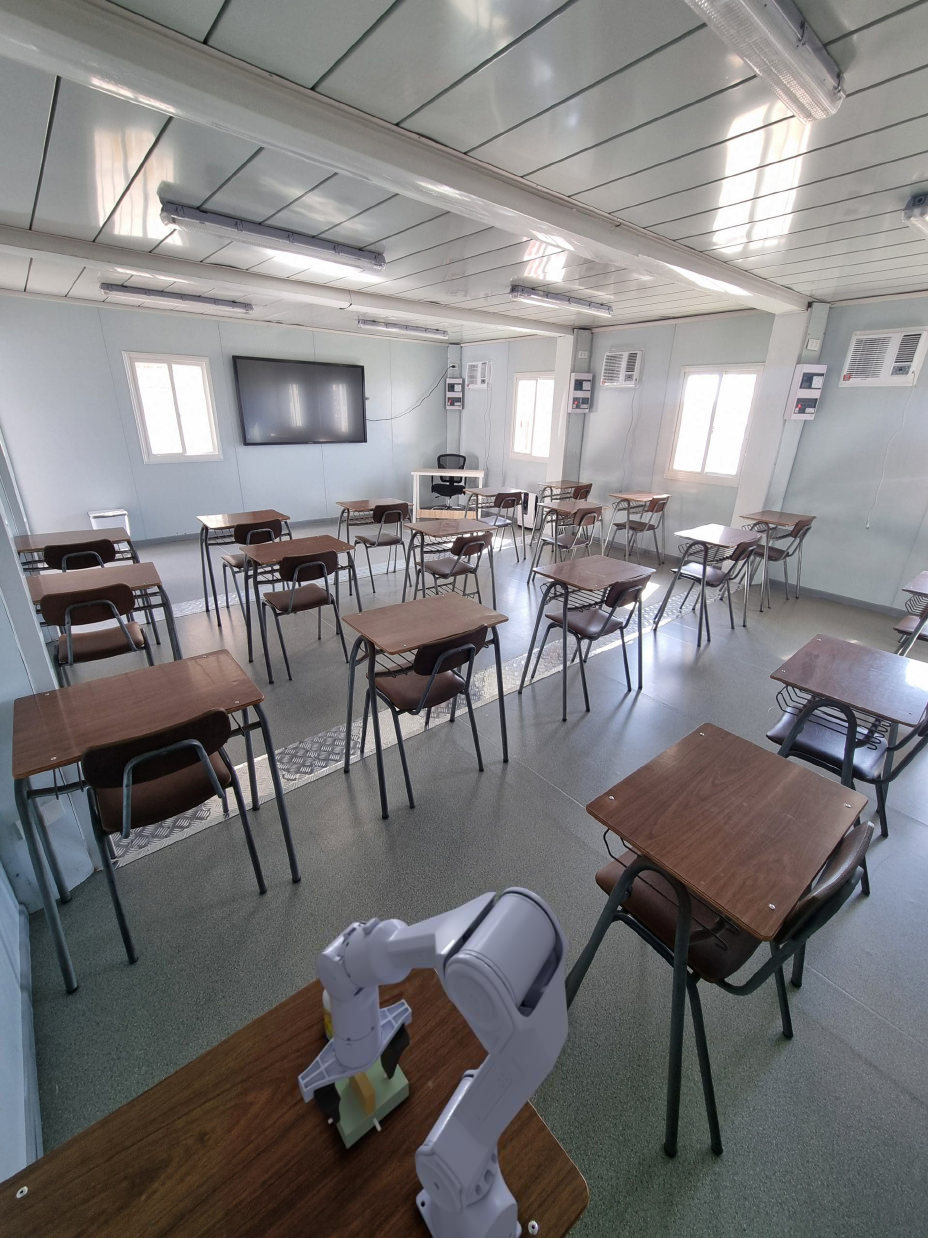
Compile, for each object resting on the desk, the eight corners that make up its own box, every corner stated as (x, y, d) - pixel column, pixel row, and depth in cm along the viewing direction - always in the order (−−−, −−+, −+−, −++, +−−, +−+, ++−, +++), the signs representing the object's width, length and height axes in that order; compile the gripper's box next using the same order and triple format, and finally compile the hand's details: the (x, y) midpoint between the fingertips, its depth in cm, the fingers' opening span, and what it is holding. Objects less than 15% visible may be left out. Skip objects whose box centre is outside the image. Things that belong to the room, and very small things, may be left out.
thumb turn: (376, 1110, 63) (374, 1089, 62) (366, 1118, 63) (365, 1097, 62) (357, 1074, 67) (356, 1054, 66) (348, 1081, 66) (347, 1061, 65)
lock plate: (417, 1110, 66) (417, 1096, 65) (346, 1175, 60) (345, 1160, 59) (372, 1032, 75) (371, 1019, 74) (306, 1081, 69) (305, 1068, 68)
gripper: (391, 957, 68) (394, 1029, 72) (284, 1028, 60) (295, 1105, 63) (419, 998, 63) (421, 1074, 67) (308, 1082, 54) (317, 1163, 58)
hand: (361, 1092), depth 65 cm, fingers open, 7 cm apart
